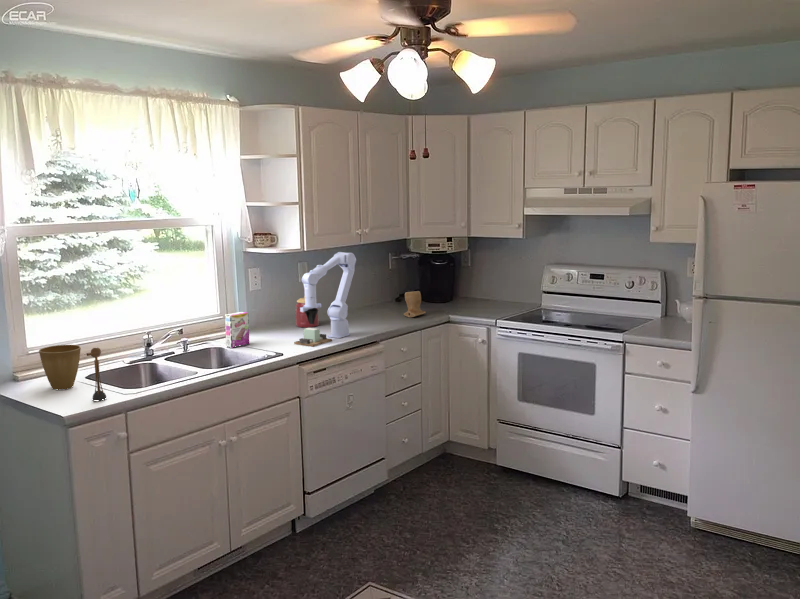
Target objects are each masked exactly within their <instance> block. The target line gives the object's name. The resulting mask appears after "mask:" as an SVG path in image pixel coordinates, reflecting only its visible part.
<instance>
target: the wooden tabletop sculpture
mask: <svg viewBox="0 0 800 599" xmlns="http://www.w3.org/2000/svg"><path fill="white" fill-rule="evenodd" d="M101 354H102V351H101V348H99V347H98V346H95V347H92V349H91V350H90V352H87V353H86V356H87V357H89V356H91V357H92V358H94V360H93V361H94V372H95V373H94V374H95V375H94V376H95V389H94V393H93V394H92V398H91V399H93V400H102V399H105V398H106V397H107V395H106V393H105V392H104V390H103V387H102V383H101V382H102V381H101V373H100V372H101V371H100V362H99V361H100V360H99V359H98V358H100V356H101ZM93 400H92V401H93Z"/></svg>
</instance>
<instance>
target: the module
mask: <svg viewBox="0 0 800 599" xmlns="http://www.w3.org/2000/svg"><path fill="white" fill-rule="evenodd" d="M320 331H321V330H320V328H315V327H304V328H303V338H304V339H312V340H313V342H317V341H320V334H321V332H320Z"/></svg>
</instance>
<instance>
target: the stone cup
mask: <svg viewBox="0 0 800 599" xmlns="http://www.w3.org/2000/svg"><path fill="white" fill-rule="evenodd" d="M404 300H405V302H406V306H407V311H406V312H404V313H403V316H405V317H407V318H415V317H419V316H421V315H424V314H426V311H424V310H422V309H421V303H422V294H421V291H419V290H417V291H407V292H405V293H404Z"/></svg>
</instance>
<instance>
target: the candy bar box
mask: <svg viewBox="0 0 800 599" xmlns="http://www.w3.org/2000/svg"><path fill="white" fill-rule="evenodd" d="M249 324H250V320H249V312H247V311H238V312H233V313H232V312H231V313H226V314H224V327H225V329H224V330H225V347H226V346H227V347H226V348H228V347H230V348H229V349H234V348H233V347H235V346H239V345H244V346H247V345H246V344H249V345H250V325H249ZM235 348H236V347H235Z"/></svg>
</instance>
